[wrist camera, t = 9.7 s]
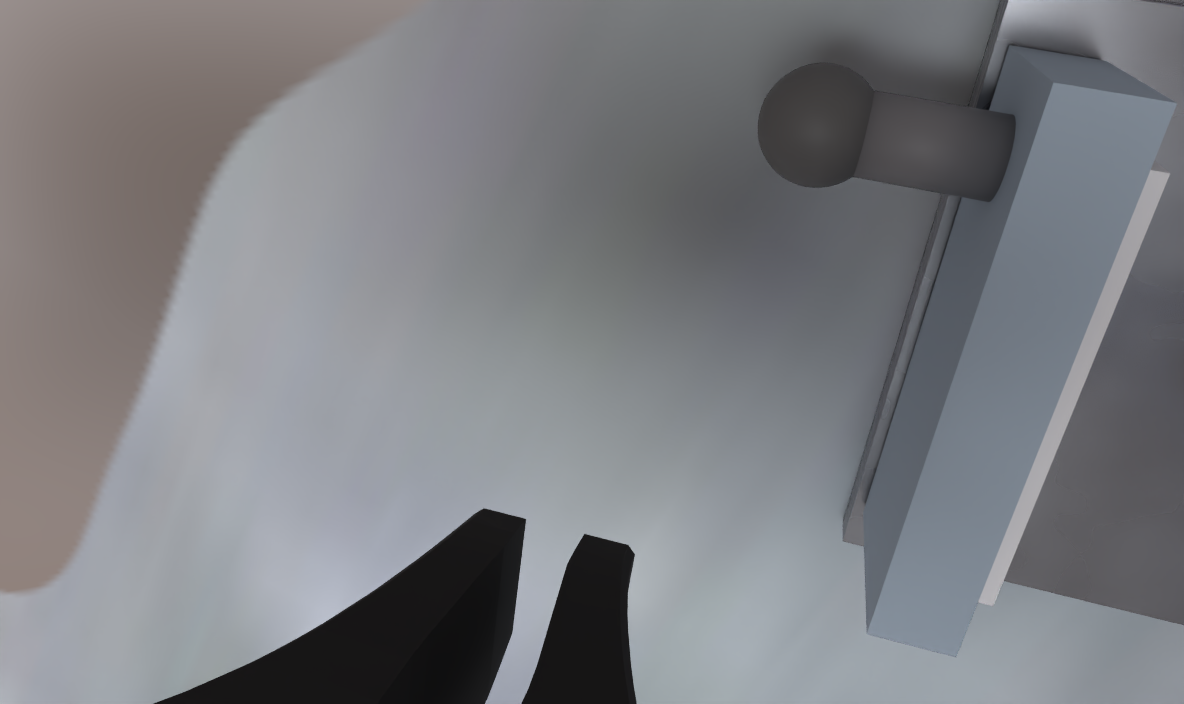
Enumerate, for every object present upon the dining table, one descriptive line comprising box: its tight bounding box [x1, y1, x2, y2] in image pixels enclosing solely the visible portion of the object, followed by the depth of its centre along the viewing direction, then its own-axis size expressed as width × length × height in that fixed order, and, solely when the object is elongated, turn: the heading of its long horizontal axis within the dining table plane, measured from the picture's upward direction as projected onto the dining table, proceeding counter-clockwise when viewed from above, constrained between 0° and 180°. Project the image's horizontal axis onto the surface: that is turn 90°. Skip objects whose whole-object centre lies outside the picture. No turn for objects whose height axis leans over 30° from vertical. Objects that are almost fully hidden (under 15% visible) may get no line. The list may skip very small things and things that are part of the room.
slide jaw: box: [758, 45, 1177, 657], centre depth 17 cm, size 6×10×4 cm, turn 174°
